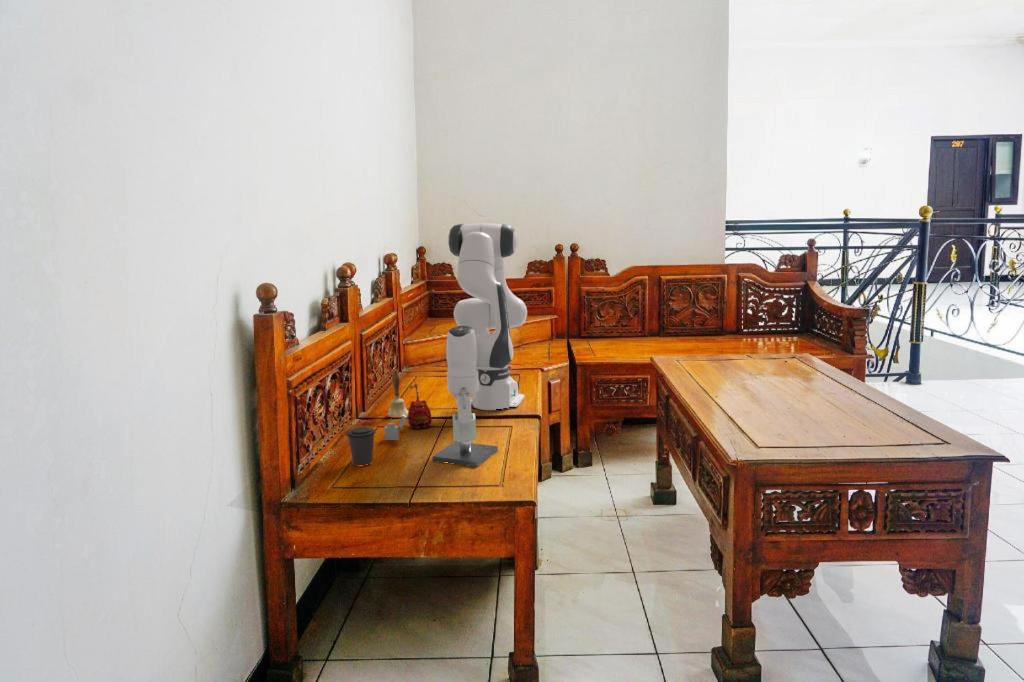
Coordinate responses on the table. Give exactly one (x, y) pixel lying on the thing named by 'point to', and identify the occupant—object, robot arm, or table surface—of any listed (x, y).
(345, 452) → the table surface
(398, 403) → the hand bell
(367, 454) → the coffee cup
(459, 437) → the sleeve
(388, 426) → the lighter
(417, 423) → the red clay folk toy
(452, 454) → the plate
